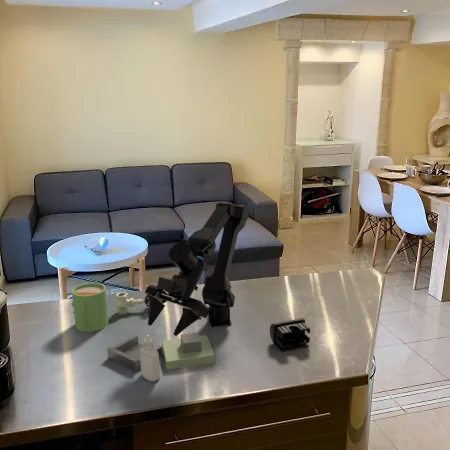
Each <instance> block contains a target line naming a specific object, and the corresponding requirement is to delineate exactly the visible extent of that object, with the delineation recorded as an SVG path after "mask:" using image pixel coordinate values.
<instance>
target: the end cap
mask: <svg viewBox="0 0 450 450" xmlns="http://www.w3.org/2000/svg"><path fill="white" fill-rule="evenodd" d="M306 332H307V333H306ZM269 334H270V335H269V336H270V339H271V341H272V343H273V344H274V346H275V347H276V348H277V350H279V352H281V353H283V352H284V353H285V352H289V351H293V350H299V349H305V348H309V346H310V344H309V343H310V341H311V337H310V336H309V334H311V328H310V327H309V326H308V325H307V324H306V318H303V317H302V318H301V317H300V318H296V319H290V320H284V321H280V322H274V323H271V324H270V326H269Z"/></svg>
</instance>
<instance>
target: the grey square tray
mask: <svg viewBox="0 0 450 450" xmlns="http://www.w3.org/2000/svg"><path fill="white" fill-rule="evenodd" d="M142 347H144V343H143V344H142V343H140V342H139V336H138V335H136V334H133V336H130V337H129V338H127V339H125V340H123V341H121V342H120V343H118V344H116V345H114V346H110V347H107V349H106V350H107V358H108V359H110V360H111V361H114V362H115V363H117V364H120V365H121V366H124V367H126V368H127V369H130V370H131V371H133V372H138V371H139V370H141V364H140V349H141V348H142ZM154 348H155V349H156V350H157V352H158V355H159V357H161V356H162V355H164V354H163V349H162V345H160V344H158V345H157V346H156V347H155V346H154Z"/></svg>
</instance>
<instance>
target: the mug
mask: <svg viewBox="0 0 450 450" xmlns="http://www.w3.org/2000/svg"><path fill="white" fill-rule="evenodd" d="M71 295H72V302H71V307H73V314H74V324H75V329H76V330H78V331H79V332H82V333H92V332H96V331H101V330H102V329H105V328H107V326H108V325H109V314H108V313H109V312H108V310H109V309H108V302H107V301H108V300H107V289H106V286H105V284H103V283H100V282H86V283H81V284H79V285H76V286H75V287H73V288H72V290H71Z"/></svg>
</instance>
